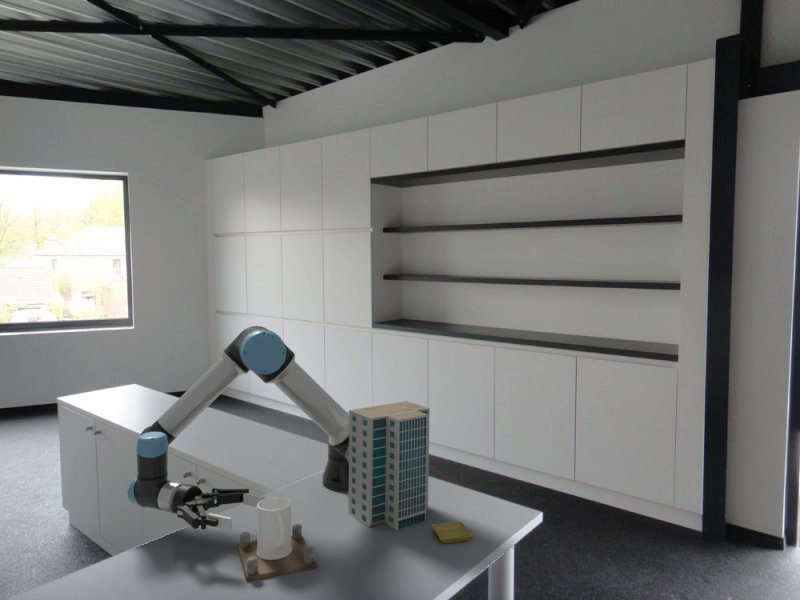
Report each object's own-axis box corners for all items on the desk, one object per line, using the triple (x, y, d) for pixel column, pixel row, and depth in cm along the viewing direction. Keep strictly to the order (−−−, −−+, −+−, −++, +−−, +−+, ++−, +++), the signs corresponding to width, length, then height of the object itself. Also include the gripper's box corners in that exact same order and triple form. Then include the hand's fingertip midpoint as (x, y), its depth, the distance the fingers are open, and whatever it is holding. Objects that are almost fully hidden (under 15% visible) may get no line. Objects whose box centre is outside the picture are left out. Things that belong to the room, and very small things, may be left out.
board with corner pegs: (301, 537, 149) (301, 522, 149) (316, 567, 134) (316, 551, 134) (237, 548, 143) (237, 532, 143) (246, 581, 128) (246, 563, 128)
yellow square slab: (472, 543, 148) (472, 535, 148) (440, 547, 146) (440, 538, 146) (461, 528, 156) (461, 521, 156) (431, 531, 154) (431, 524, 154)
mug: (298, 563, 134) (298, 513, 133) (261, 570, 131) (260, 518, 130) (288, 540, 145) (288, 494, 144) (254, 546, 142) (254, 499, 141)
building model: (381, 535, 151) (382, 422, 149) (348, 513, 164) (349, 410, 162) (440, 516, 163) (441, 412, 161) (405, 497, 176) (406, 400, 175)
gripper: (213, 495, 161) (277, 508, 153) (143, 533, 138) (214, 550, 130) (213, 469, 160) (277, 480, 152) (143, 502, 137) (214, 518, 129)
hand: (248, 512), depth 141 cm, fingers open, 13 cm apart
